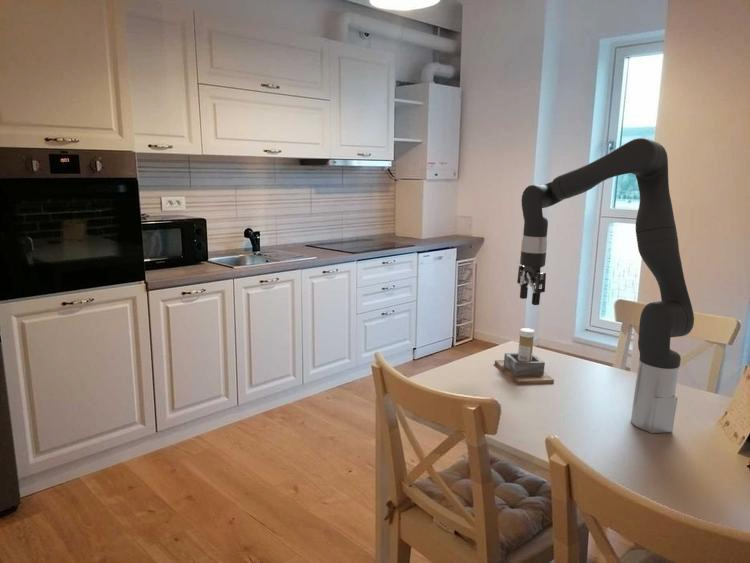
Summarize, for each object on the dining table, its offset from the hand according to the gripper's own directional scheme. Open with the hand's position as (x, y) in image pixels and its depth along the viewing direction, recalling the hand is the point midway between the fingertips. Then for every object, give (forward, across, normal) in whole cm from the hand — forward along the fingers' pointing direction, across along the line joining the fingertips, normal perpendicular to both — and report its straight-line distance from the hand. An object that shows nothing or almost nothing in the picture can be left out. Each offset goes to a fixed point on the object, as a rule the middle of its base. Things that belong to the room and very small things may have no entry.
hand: (529, 301), depth 171 cm
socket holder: (+24, 0, 0) cm, 24 cm away
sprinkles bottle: (+23, 0, 0) cm, 23 cm away
